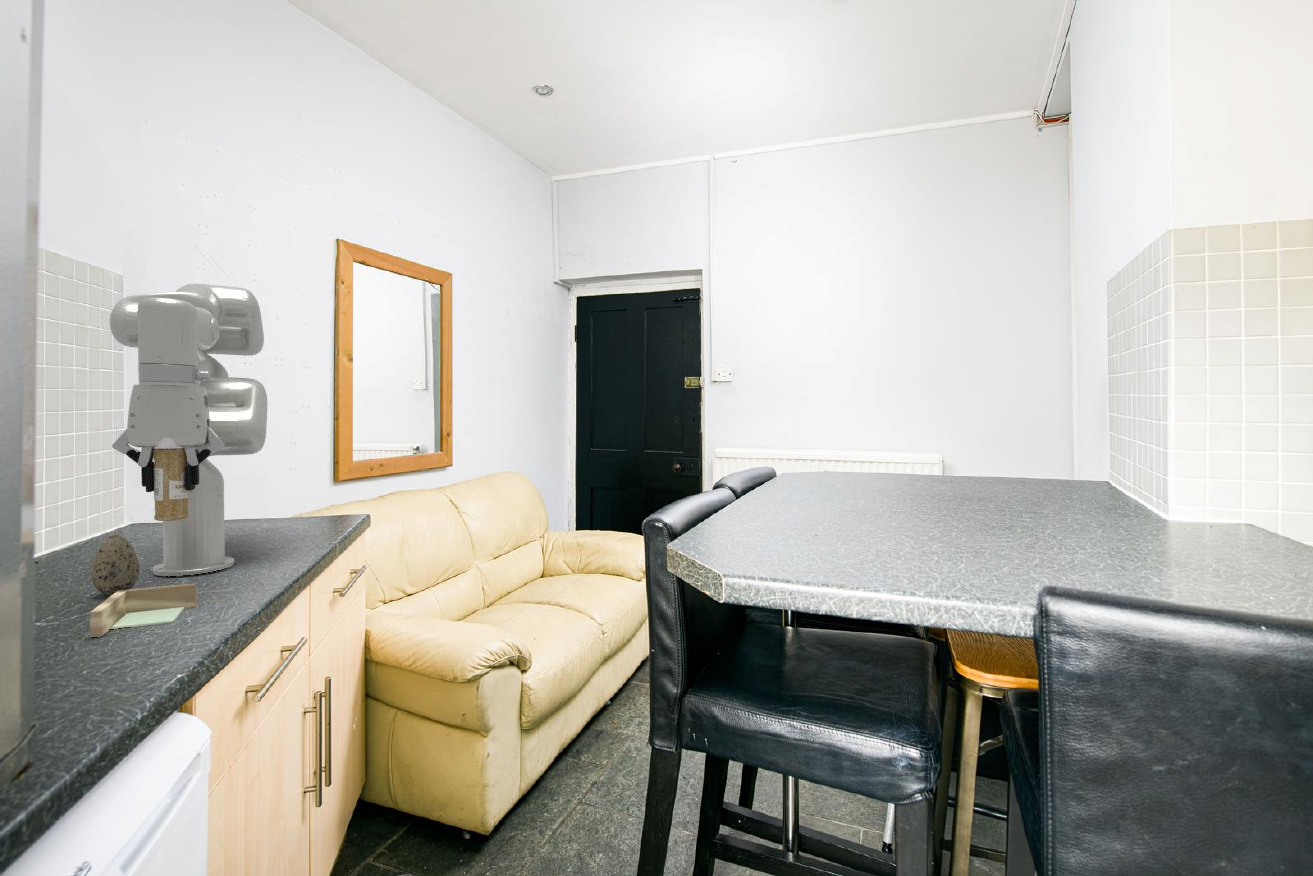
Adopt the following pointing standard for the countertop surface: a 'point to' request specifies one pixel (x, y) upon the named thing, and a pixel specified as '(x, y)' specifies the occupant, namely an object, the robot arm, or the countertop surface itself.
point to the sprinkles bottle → (170, 481)
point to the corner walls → (140, 604)
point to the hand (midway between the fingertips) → (171, 489)
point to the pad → (148, 618)
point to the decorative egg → (115, 566)
